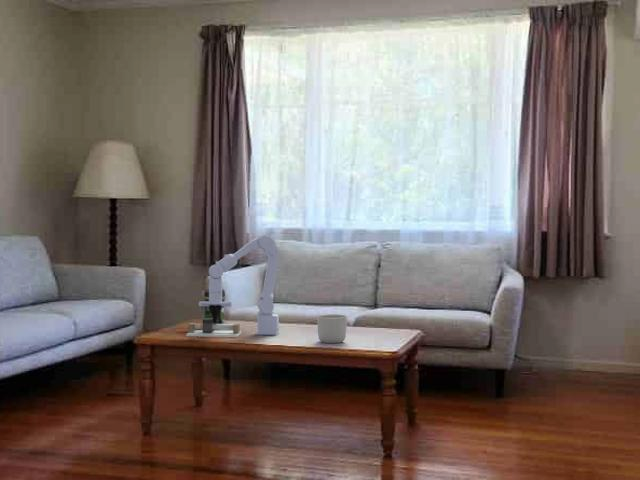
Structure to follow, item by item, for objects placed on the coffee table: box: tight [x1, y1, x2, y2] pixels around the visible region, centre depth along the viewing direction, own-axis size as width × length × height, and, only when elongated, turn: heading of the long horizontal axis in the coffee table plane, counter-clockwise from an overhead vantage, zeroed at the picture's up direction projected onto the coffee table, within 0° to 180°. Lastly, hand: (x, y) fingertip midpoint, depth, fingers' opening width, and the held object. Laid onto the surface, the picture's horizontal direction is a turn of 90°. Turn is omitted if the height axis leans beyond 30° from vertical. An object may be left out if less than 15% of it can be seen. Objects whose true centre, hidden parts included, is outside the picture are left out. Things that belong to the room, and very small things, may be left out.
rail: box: [185, 322, 242, 338], centre depth 352 cm, size 22×12×5 cm, turn 85°
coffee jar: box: [203, 288, 226, 324], centre depth 371 cm, size 10×8×19 cm
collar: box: [202, 318, 215, 333], centre depth 353 cm, size 4×5×6 cm
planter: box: [316, 313, 348, 344], centre depth 335 cm, size 12×12×11 cm
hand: (215, 322), depth 352 cm, fingers closed
